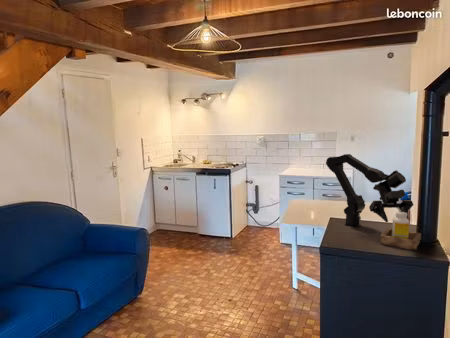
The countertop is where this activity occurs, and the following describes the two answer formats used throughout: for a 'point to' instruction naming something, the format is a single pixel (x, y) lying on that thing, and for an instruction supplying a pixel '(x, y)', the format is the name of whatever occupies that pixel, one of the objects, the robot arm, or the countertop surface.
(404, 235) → the supplement bottle
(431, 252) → the countertop surface
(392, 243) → the box
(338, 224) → the countertop surface
